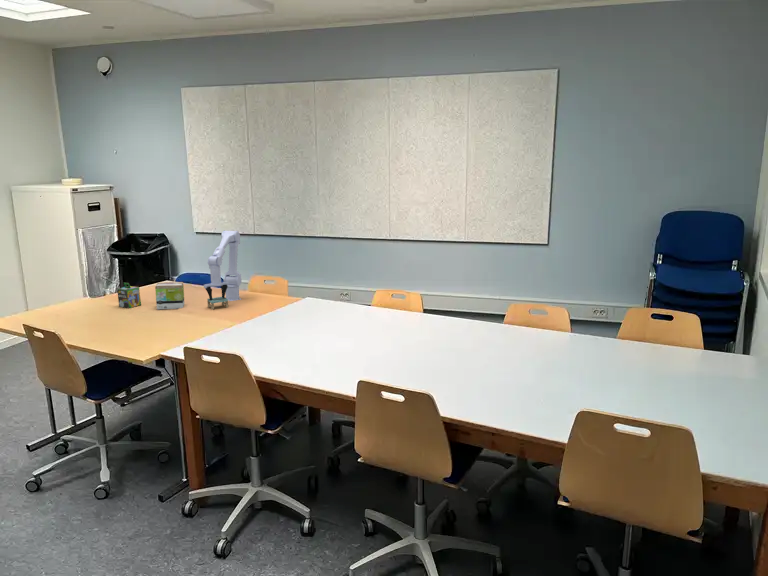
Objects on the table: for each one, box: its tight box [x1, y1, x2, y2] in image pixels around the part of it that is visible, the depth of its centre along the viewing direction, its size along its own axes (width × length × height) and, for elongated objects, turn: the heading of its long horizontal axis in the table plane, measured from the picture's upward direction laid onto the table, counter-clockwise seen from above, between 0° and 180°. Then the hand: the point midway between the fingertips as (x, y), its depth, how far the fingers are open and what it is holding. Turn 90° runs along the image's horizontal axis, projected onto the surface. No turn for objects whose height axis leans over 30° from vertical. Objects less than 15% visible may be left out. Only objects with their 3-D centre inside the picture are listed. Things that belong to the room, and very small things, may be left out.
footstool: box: [206, 296, 229, 311], centre depth 338 cm, size 7×10×5 cm
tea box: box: [154, 281, 185, 310], centre depth 339 cm, size 15×10×15 cm, turn 104°
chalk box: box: [116, 282, 142, 309], centre depth 341 cm, size 9×9×15 cm
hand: (217, 298), depth 338 cm, fingers open, 7 cm apart
